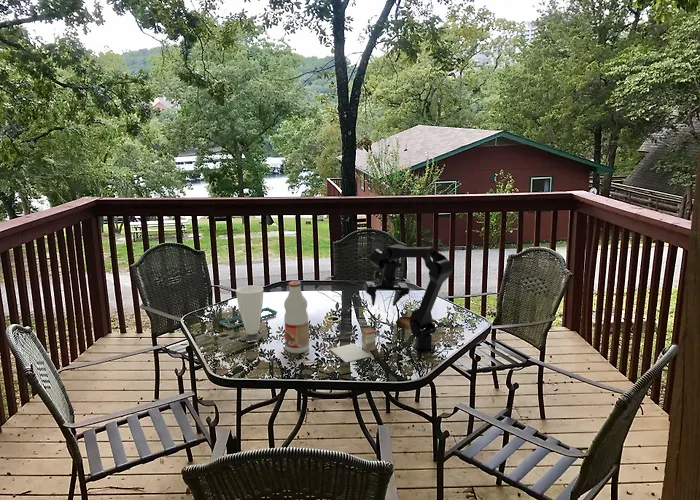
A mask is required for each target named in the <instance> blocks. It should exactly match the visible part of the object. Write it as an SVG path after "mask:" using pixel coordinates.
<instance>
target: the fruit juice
mask: <svg viewBox="0 0 700 500" xmlns="http://www.w3.org/2000/svg"><path fill="white" fill-rule="evenodd" d="M301 287H302V282H301V281H299V280H292V281H289V282H288V288H289V292H288V296H286V298H285V299H284V303H283V307H284V309H285V313H284V337H285V339H284V340H285V350H286V351H287V352H288V353H291V354H301V353H305V352H307V351H308V350H309V348H310V335H309V334H310V332H309V330H310V329H309V327H310V326H309V314H308V312H307V308H308V300H307V299H306V297H305V296H304V295H303V292H302V289H301Z"/></svg>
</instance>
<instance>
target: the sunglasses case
mask: <svg viewBox="0 0 700 500" xmlns="http://www.w3.org/2000/svg"><path fill="white" fill-rule="evenodd" d="M410 316H411V314H409V315H406V316H401V317H399V318H397V319H396V323H395V324H396V326H398V327H401V328H403V329H404V330H409V331H411V327H410V324H409V321H410V319H409V318H410ZM431 321H432V323H434V322H437V320H436V319H434V318H433V317H432V320H431Z"/></svg>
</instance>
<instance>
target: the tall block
mask: <svg viewBox="0 0 700 500" xmlns="http://www.w3.org/2000/svg"><path fill="white" fill-rule="evenodd" d="M361 349H362V350H364V351H365V352H371V351H374V350H376V329H374V328H372V327H366V328H365V327H364V328H363V329H362V328H361Z"/></svg>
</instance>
